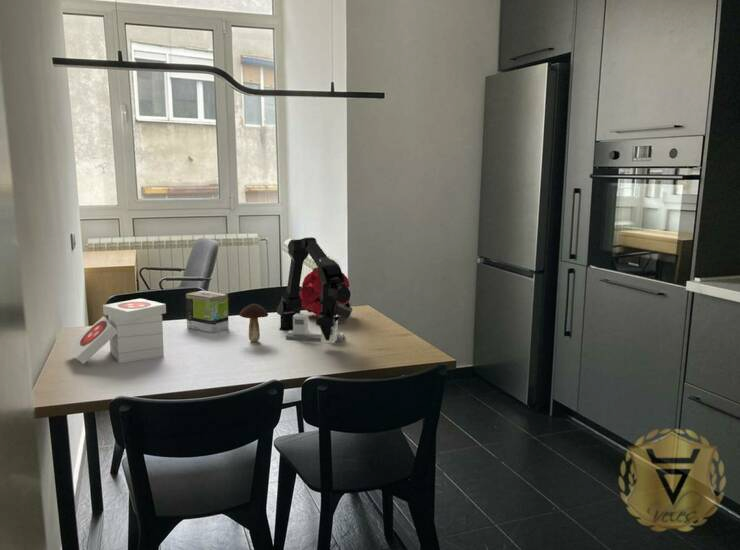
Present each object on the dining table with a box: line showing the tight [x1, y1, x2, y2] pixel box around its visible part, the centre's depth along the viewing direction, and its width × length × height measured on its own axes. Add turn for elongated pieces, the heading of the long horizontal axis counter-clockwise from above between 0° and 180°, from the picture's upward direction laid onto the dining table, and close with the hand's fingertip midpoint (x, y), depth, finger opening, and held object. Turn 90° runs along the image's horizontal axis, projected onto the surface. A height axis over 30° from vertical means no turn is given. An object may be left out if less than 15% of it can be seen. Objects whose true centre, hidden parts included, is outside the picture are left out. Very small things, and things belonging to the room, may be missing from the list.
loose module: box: [320, 324, 337, 344], centre depth 221 cm, size 5×5×6 cm
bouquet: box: [299, 266, 351, 324], centre depth 268 cm, size 22×24×30 cm
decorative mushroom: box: [238, 303, 269, 343], centre depth 228 cm, size 11×11×15 cm
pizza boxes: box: [69, 298, 167, 365], centre depth 207 cm, size 19×30×18 cm, turn 124°
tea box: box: [185, 290, 229, 334], centre depth 247 cm, size 15×10×15 cm
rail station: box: [285, 312, 345, 343], centre depth 236 cm, size 22×8×9 cm, turn 83°
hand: (328, 338), depth 222 cm, fingers closed on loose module, 5 cm apart
